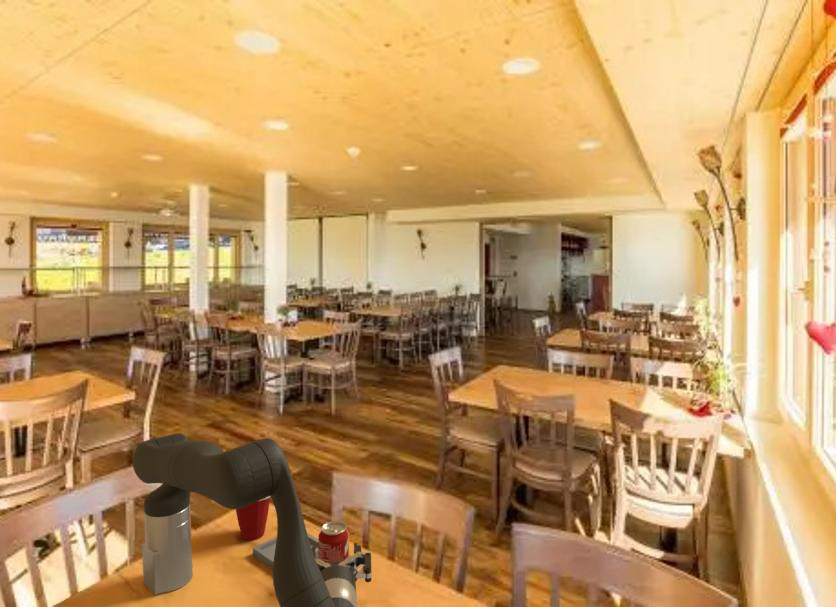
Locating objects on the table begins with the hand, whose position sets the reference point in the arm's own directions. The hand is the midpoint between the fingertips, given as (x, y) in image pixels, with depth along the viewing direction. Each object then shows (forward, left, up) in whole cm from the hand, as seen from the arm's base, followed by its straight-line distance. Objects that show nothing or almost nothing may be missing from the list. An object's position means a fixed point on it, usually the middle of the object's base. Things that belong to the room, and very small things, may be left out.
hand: (334, 549), depth 106 cm
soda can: (+7, +8, -13) cm, 17 cm away
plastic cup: (+5, +38, -13) cm, 41 cm away
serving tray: (+6, +23, -13) cm, 28 cm away
